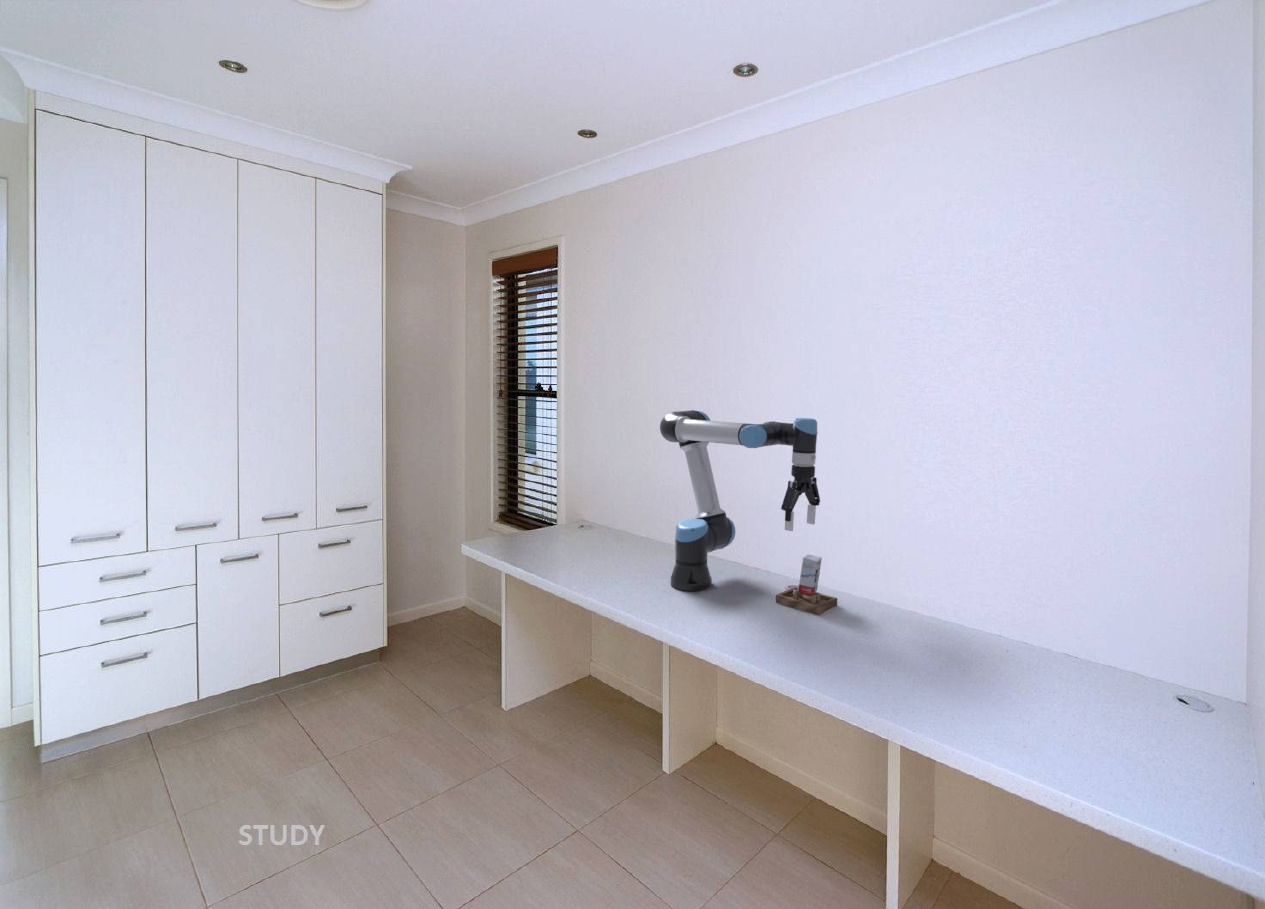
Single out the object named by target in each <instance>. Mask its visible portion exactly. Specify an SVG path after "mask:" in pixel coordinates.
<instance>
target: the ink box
mask: <svg viewBox="0 0 1265 909" xmlns="http://www.w3.org/2000/svg"><path fill="white" fill-rule="evenodd" d="M822 559H823V558H822V557H820V556H817V555H814V554H809V553H808V554H806V555H805V556H803V557H802V564H801V571H800V577H799V581H798V582H799V584H798V588H799V589H798V592H799V593H803V594H807V595H811V596H812V595H813V594H814V593H815V592H817V591H818V587H819V580H820V572H821V566H822Z"/></svg>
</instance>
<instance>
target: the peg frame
mask: <svg viewBox="0 0 1265 909" xmlns="http://www.w3.org/2000/svg"><path fill="white" fill-rule="evenodd" d="M798 589H799V586H794V587H790V588H789V589H786V590H784V591H782V592H779V593H778V594H776V595H775V603H777V604H780V605H783V606H787V607H791V608H794V609H797V610H800V611H803V612H806V613H809V614H810V613H811V614H813V615H816V616H820V615H822V614H824V613H826V612H828V611H830V610H832V609H834V608H835V607H837V606H838V597H836V596H832V595H827V594H824V593H820V592H819V591H818V592H817V591H816V592H815V593H814V594H813V595H812V596H811V595H807V594H803V593H799V592H798Z"/></svg>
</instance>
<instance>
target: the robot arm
mask: <svg viewBox="0 0 1265 909" xmlns="http://www.w3.org/2000/svg"><path fill="white" fill-rule="evenodd" d="M659 430H660V431H659V432H660V434H661V435H662V437H663V438H664V439H665V440H666V441H668V442H671V443H678V445H679V448H680V450H682V451H683V452H684V454H685V458H686V463H687V467H688V472H689V476H690V481H691V486H692V490H693V494H694V499H695V504H696V508H697V509H696V510H697V514H696V516H695V518H691V519H685V520H682V521H680V522H678V524H677V525H676V526H675V533H674V537H675V538H674V539H675V541H674V542H675V547H674V548H675V551H674V552H675V554H674V555H675V561H674V562H675V563H674V567H673V570H672V574H671V577H670V586H671V587H673V588H674V589H677V590H680V591H685V592H687V591H688V592H698V591H699V592H701V591H705V590H708V589H710V588H711V587H712V586H713V583H712V582H713V580H712V576H711V573H710V570H709V566H708V554H709V553H712V552H714V551H717V550H722V549H724V548H726V547H728V546H730V545H731V544H732V543H733V541H734V539H735V537H736V527H735V523H734V522H733V520H731V518H729V517H728V516H727V513H726V511H725V510H724V509H722V508H721V506H720V501H719V497H718V496H719V495H718V493H717V487H716V483H715V479H714V473H713V470H712V465H711V460H710V456H709V451H708V446H709V445H710V444H709V443H715V444H723V445H724V444H725V445H732V446H734V445H735V446H743V447H744V448H748V449H758V448H763V447H770V446H776V445H779V446H781V445H783V446H792V454H791V463H792V465H791V471H790V472H791V473H790V474H791V476H792V477H793V478H794V480H788V482H787V489H786V490H785V491H786V492H785V494H784V498H783V500H782V503H781V508H780V509H781V510H782V511H783V512H784V511H785V512H784V531H789V532H793V531H794V520H795V518H794V517H795V512H794V511H793V510H794V508H795V507H796V504H797V502H798V500H799V498H800V496H802V494H804V495H805V497H806V499H807V501H808V503H809V504H807V511H806V512H807V513H806V524H810V525H815V524H816V509H817V506H820V503H821V498H820V494H819V489H818V484H817V483H818V482H817V481H818V479H817V477H815V475H816V466H815V465H816V459H817V456H816V455H817V441H818V440H817V437H818V434H819V433H818V421H817V420H816V419H815V418H809V417H797V418H795V419H794V421H793V423H792V422H791V423H788V422H781V421H780V422H779V421H764V422H763V423H746V422H745V423H743V422H730V421H718V420H711V418H710V417H709V416H708V414H706V413H705V412H703V411H701V410H695V409H693V410H681V411H671V412H668V413H667V414H666V415H664V416H663V417H662V419H661V420H660V423H659Z"/></svg>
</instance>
